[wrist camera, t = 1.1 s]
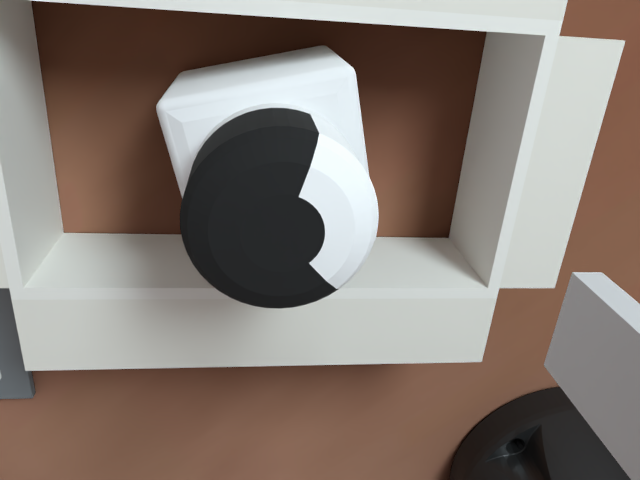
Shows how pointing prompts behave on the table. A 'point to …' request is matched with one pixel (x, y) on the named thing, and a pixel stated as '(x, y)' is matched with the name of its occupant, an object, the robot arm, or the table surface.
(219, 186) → the container
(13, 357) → the mat
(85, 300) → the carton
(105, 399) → the table surface
